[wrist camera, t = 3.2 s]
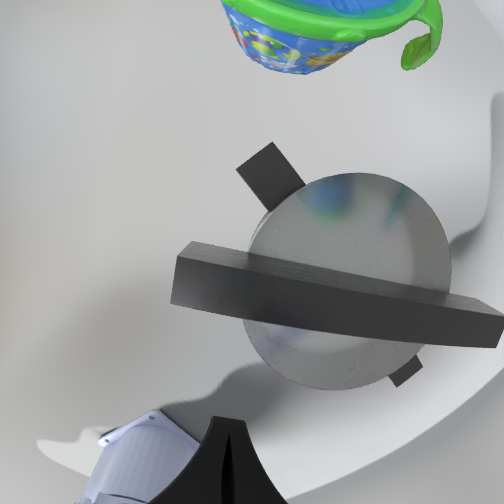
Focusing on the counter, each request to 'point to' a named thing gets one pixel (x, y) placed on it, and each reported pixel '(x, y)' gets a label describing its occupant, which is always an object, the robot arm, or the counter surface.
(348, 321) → the lid
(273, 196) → the pot
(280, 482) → the counter surface
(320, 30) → the snack cup
